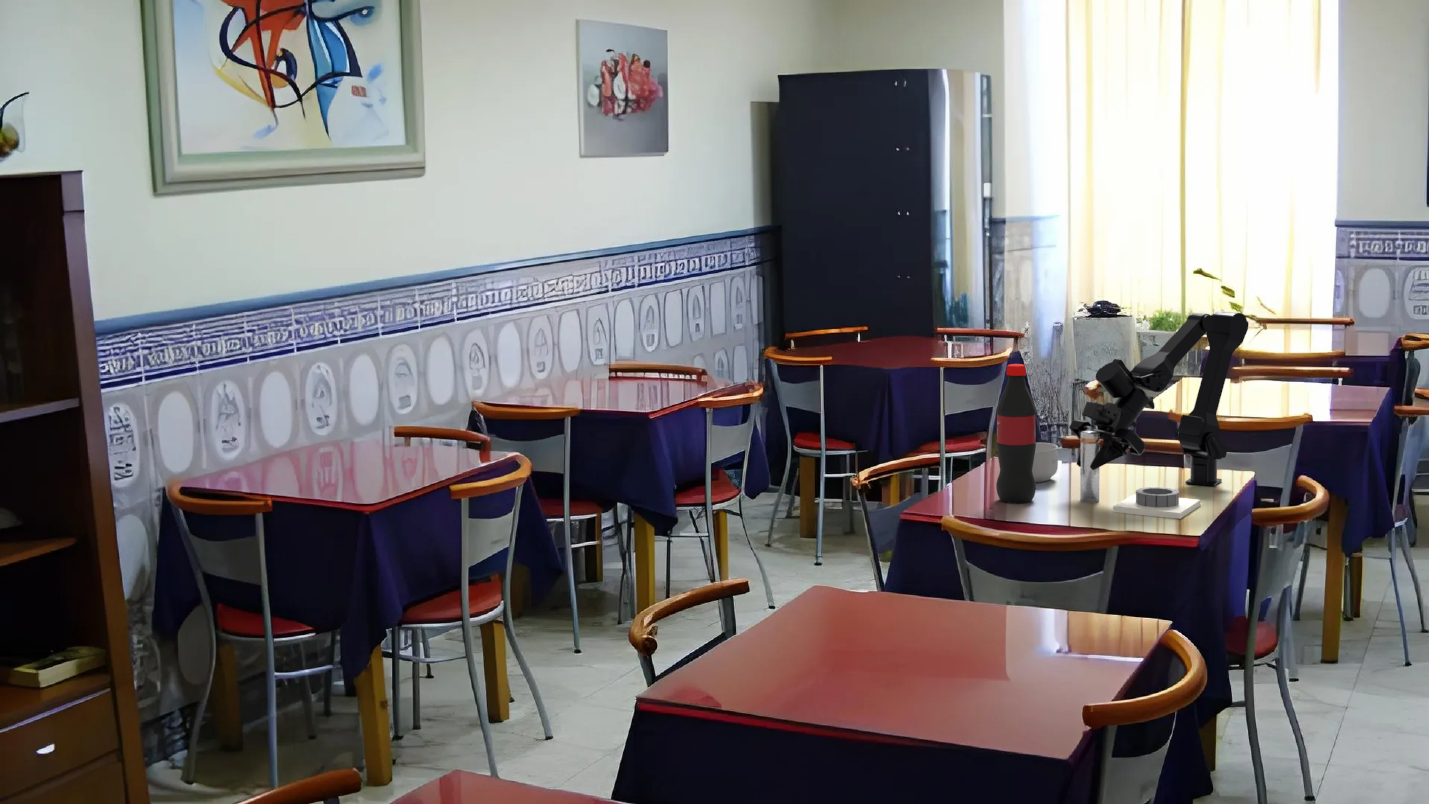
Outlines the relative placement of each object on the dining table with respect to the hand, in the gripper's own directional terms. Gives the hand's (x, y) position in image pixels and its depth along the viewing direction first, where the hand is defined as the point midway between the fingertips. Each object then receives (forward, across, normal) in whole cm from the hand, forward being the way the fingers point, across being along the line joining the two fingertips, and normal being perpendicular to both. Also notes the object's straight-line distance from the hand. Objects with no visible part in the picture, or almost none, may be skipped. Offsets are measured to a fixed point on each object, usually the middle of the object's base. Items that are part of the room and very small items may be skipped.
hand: (1084, 467), depth 313 cm
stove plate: (0, +14, +11) cm, 17 cm away
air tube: (+4, 0, +6) cm, 8 cm away
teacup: (+1, -26, +10) cm, 28 cm away
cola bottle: (+14, -9, -3) cm, 17 cm away
